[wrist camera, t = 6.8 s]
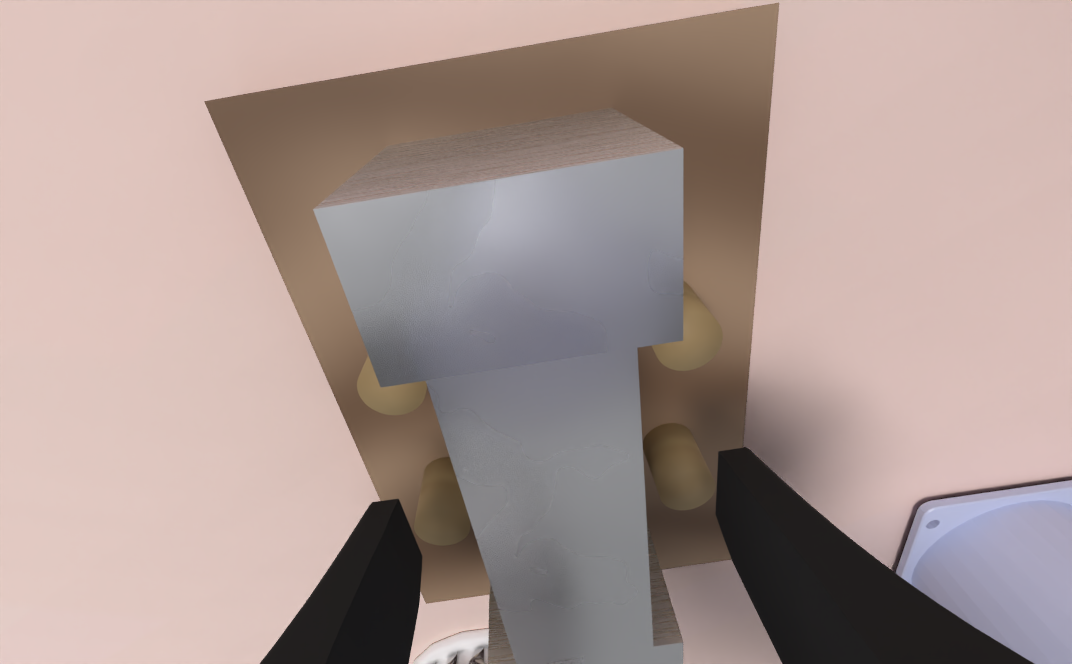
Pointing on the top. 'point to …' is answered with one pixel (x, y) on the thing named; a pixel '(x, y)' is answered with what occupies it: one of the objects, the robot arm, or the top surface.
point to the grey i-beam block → (532, 356)
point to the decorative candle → (458, 649)
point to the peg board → (511, 98)
